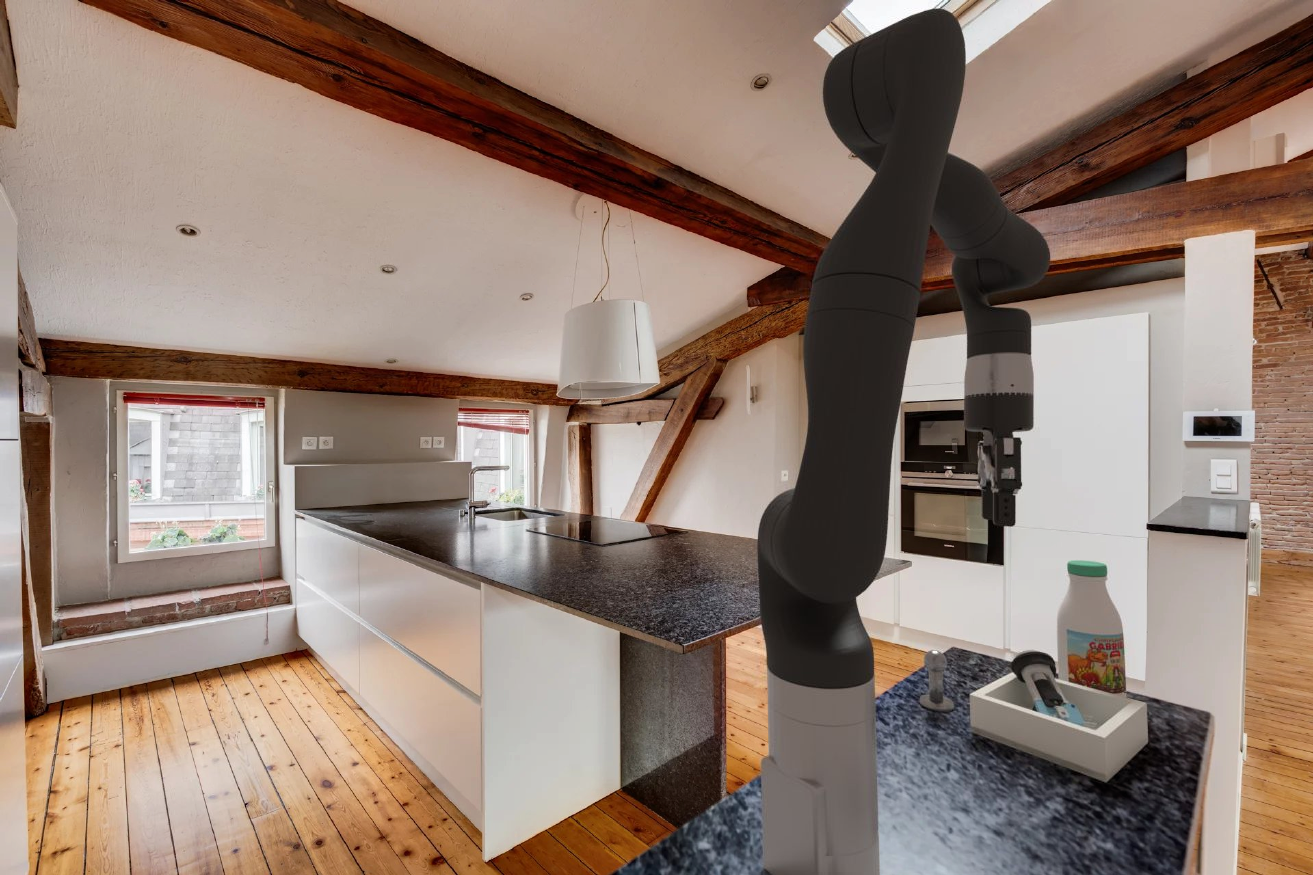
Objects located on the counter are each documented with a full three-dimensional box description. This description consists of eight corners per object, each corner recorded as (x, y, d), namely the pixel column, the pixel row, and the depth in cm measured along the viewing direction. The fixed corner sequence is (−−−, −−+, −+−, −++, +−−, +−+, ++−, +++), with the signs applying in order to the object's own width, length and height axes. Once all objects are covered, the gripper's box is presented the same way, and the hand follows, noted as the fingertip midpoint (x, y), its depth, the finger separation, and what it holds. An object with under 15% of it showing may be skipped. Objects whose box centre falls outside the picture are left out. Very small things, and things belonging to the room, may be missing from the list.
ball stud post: (943, 714, 79) (941, 658, 79) (913, 703, 83) (912, 649, 83) (959, 706, 82) (958, 651, 82) (929, 695, 85) (928, 643, 85)
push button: (1090, 741, 72) (1055, 673, 80) (1105, 715, 69) (1066, 647, 78) (1033, 736, 73) (1003, 669, 81) (1044, 710, 70) (1013, 643, 79)
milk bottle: (1047, 697, 84) (1042, 560, 84) (1078, 688, 87) (1073, 555, 88) (1107, 719, 77) (1101, 569, 77) (1138, 708, 80) (1133, 564, 81)
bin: (1106, 782, 62) (1104, 737, 63) (970, 731, 74) (969, 694, 74) (1148, 742, 71) (1146, 702, 71) (1020, 702, 82) (1019, 668, 83)
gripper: (1048, 385, 64) (1047, 531, 64) (1020, 398, 77) (1019, 519, 77) (972, 387, 67) (971, 526, 66) (957, 399, 80) (957, 515, 80)
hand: (997, 522), depth 72 cm, fingers open, 8 cm apart
